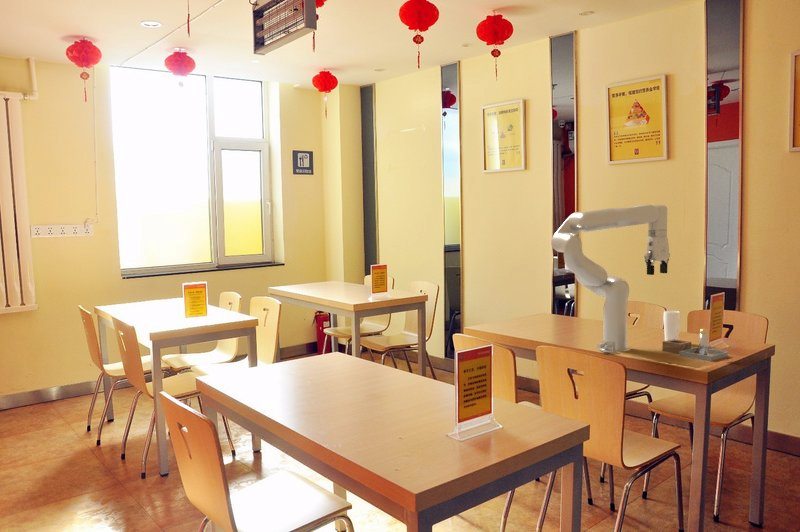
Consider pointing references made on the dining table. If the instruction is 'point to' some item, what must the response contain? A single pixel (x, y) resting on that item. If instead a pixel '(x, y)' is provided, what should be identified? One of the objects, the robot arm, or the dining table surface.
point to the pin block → (675, 346)
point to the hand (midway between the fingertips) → (657, 273)
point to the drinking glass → (671, 324)
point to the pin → (703, 342)
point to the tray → (691, 354)
